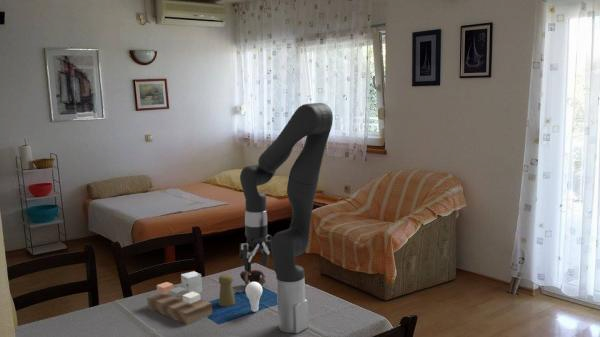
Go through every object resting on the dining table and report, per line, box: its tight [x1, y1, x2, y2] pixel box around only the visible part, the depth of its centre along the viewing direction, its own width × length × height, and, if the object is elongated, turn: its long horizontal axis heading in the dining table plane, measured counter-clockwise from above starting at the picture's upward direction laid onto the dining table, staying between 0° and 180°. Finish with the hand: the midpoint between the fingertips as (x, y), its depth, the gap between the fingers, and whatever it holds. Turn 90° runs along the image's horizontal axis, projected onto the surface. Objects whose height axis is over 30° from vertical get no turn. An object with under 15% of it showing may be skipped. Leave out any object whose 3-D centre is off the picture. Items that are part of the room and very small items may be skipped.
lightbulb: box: [244, 282, 263, 313], centre depth 185 cm, size 6×6×11 cm
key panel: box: [146, 291, 213, 325], centre depth 189 cm, size 24×11×4 cm, turn 49°
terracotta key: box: [156, 281, 175, 293], centre depth 193 cm, size 4×4×2 cm
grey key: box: [169, 286, 187, 298], centre depth 188 cm, size 4×4×2 cm
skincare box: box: [180, 270, 203, 294], centre depth 206 cm, size 6×6×7 cm
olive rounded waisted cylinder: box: [218, 273, 236, 307], centre depth 193 cm, size 6×6×11 cm
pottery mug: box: [239, 269, 267, 286], centre depth 209 cm, size 12×10×8 cm
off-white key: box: [183, 292, 202, 304], centre depth 183 cm, size 4×4×2 cm
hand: (256, 268), depth 179 cm, fingers open, 8 cm apart
